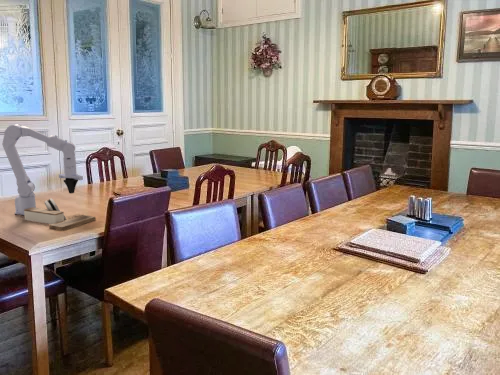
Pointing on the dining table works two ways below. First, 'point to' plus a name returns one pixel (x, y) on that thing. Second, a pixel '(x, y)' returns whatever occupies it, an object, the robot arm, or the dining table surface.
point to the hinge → (52, 205)
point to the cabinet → (43, 215)
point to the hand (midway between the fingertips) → (71, 193)
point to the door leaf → (72, 222)
